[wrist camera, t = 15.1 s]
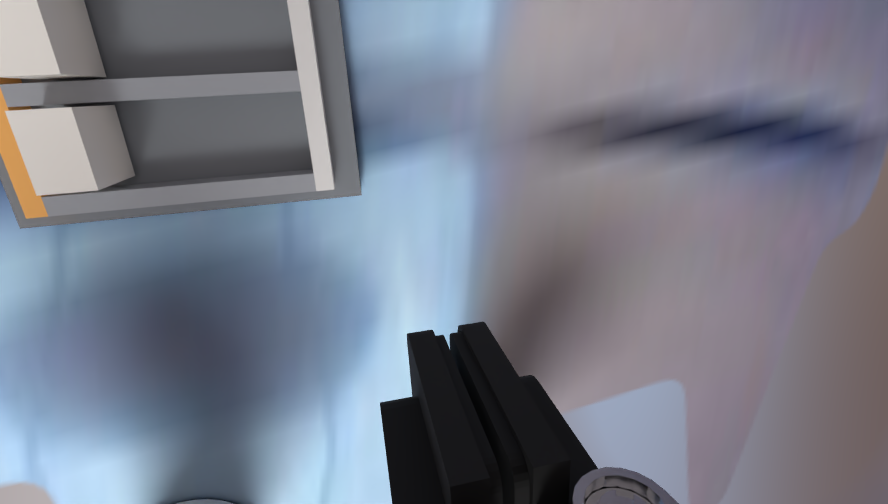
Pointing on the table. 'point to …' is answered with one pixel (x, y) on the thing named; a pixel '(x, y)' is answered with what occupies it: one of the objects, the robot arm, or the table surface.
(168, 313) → the table surface
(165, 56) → the switch board
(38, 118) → the tab
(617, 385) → the table surface
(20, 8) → the tab
